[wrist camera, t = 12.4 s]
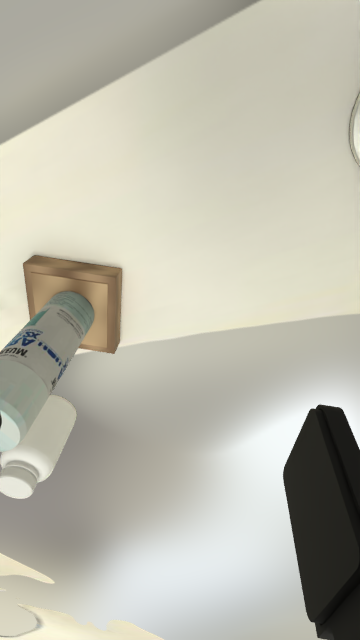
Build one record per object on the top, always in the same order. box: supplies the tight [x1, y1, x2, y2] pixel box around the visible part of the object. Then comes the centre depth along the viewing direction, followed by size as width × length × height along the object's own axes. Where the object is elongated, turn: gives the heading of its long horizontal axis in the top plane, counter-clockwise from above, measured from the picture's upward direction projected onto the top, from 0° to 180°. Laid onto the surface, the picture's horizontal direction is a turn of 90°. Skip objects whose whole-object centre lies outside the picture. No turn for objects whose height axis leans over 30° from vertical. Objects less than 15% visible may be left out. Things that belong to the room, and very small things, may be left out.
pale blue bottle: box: [0, 291, 94, 452], centre depth 37 cm, size 6×6×20 cm
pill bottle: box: [0, 395, 77, 499], centre depth 54 cm, size 8×8×15 cm
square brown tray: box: [23, 255, 122, 354], centre depth 47 cm, size 12×12×3 cm
